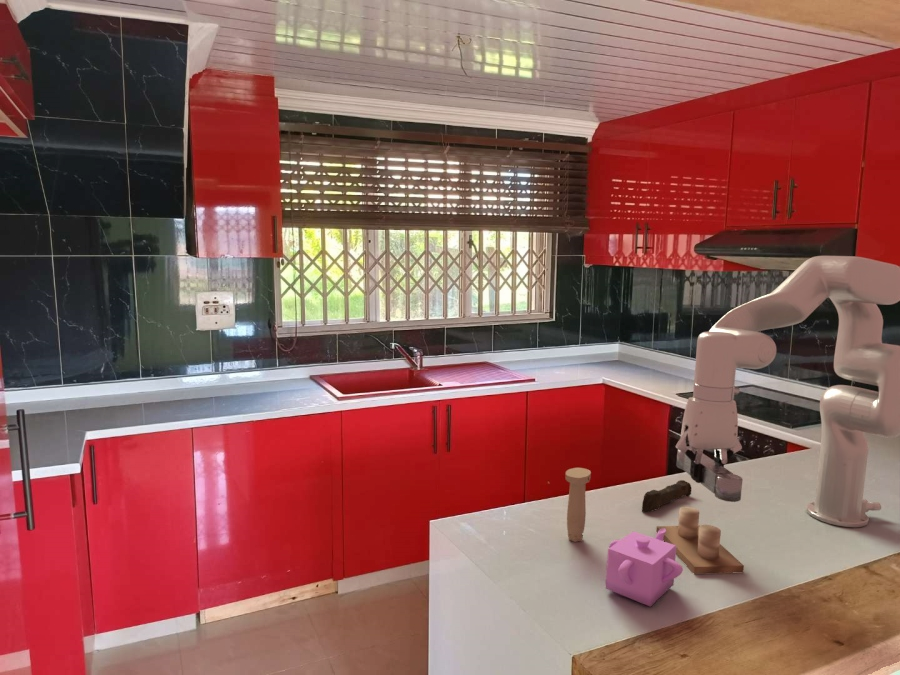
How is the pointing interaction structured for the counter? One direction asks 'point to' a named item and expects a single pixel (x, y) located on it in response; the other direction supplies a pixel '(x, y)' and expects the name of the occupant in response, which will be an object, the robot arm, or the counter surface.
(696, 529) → the tool rest
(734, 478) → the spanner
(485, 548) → the counter surface
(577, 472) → the handle
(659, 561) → the teapot
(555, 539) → the counter surface
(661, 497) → the dark fuzzy dog bone
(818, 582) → the counter surface
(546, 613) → the counter surface
